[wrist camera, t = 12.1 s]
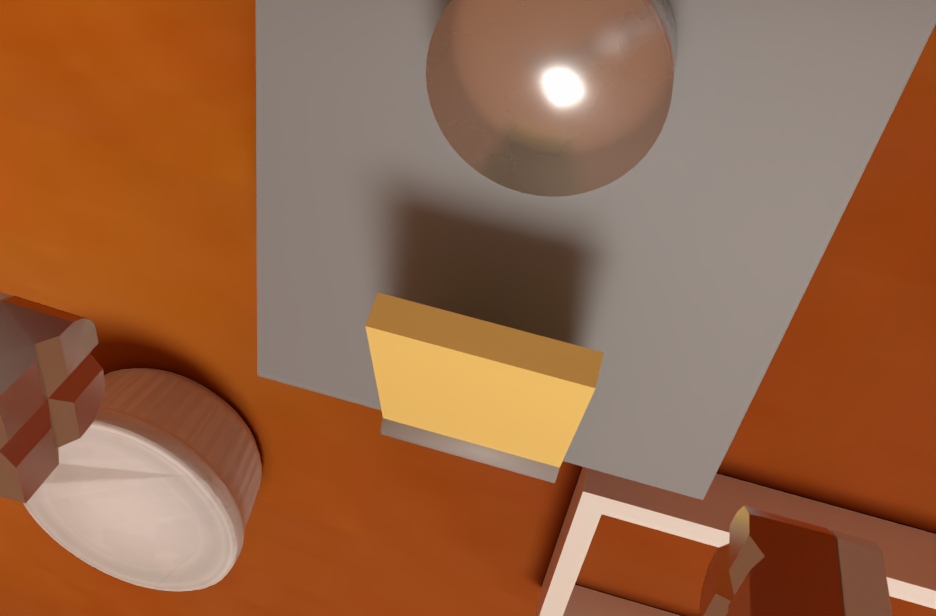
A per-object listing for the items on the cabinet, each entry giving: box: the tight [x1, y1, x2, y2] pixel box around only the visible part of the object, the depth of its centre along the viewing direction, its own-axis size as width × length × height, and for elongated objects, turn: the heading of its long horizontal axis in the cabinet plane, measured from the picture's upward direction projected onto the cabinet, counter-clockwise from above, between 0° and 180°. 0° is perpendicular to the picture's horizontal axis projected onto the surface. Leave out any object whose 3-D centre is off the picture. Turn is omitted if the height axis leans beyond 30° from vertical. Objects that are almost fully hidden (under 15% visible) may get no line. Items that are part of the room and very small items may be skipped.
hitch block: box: [256, 0, 936, 500], centre depth 26 cm, size 16×20×6 cm
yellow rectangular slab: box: [365, 293, 604, 483], centre depth 26 cm, size 6×9×1 cm
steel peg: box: [426, 0, 677, 197], centre depth 23 cm, size 6×6×8 cm
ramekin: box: [23, 368, 262, 591], centre depth 42 cm, size 11×11×5 cm
